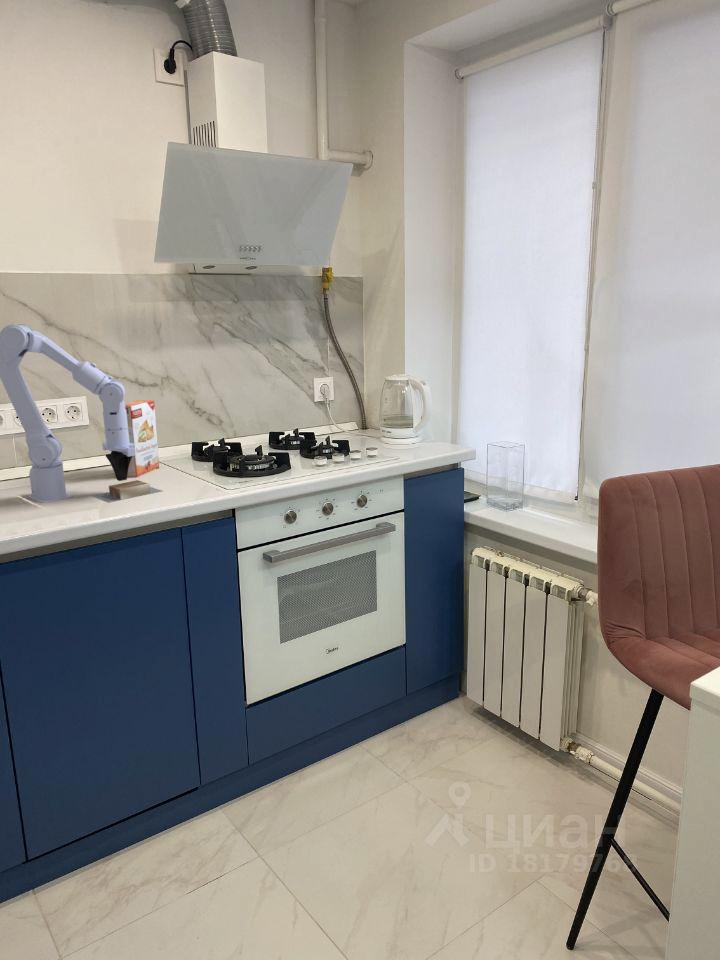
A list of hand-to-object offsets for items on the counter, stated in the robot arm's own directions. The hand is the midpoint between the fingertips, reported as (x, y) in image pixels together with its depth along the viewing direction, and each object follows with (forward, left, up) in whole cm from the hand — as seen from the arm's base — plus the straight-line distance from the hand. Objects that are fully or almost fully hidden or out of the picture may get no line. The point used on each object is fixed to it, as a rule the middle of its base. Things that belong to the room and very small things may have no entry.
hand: (122, 479), depth 188 cm
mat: (+3, 0, -4) cm, 4 cm away
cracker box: (-19, +15, -4) cm, 25 cm away
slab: (+1, 0, -2) cm, 2 cm away
